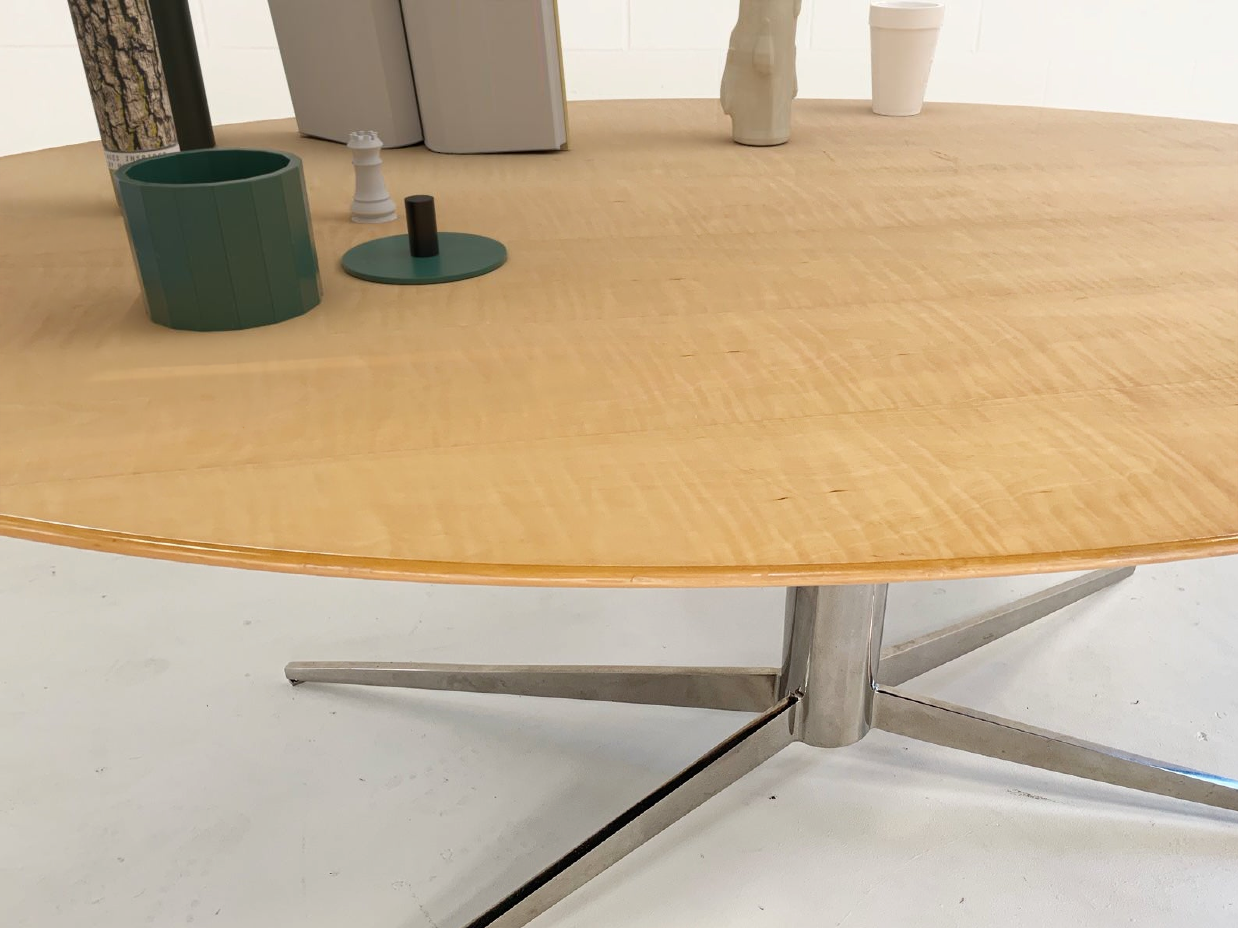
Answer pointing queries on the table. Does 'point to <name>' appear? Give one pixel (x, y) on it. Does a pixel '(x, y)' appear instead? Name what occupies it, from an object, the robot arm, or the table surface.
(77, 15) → the brown tall cylinder
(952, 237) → the table surface
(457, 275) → the lid
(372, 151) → the rook chess piece
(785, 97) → the vase
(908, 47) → the foam cup
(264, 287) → the pot
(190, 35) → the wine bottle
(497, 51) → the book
